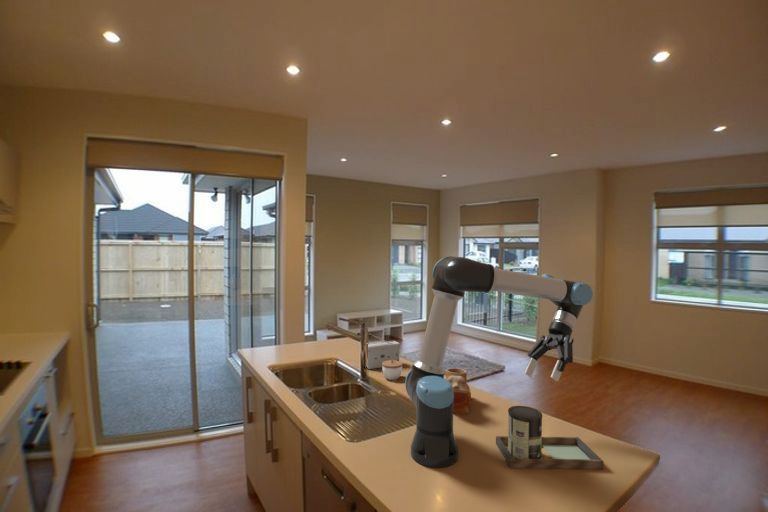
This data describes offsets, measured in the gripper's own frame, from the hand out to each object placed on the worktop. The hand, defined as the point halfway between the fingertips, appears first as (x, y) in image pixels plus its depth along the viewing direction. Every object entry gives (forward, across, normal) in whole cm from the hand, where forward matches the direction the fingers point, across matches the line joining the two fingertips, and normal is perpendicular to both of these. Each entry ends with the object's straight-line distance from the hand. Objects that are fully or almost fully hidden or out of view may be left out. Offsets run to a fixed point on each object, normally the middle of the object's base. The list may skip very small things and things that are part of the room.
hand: (540, 377), depth 131 cm
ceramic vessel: (+21, +38, +4) cm, 43 cm away
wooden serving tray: (+22, -6, -9) cm, 24 cm away
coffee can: (+26, -4, -3) cm, 26 cm away
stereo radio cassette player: (+19, +97, +23) cm, 101 cm away
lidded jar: (+23, +77, +21) cm, 83 cm away
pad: (+19, -8, -14) cm, 25 cm away
